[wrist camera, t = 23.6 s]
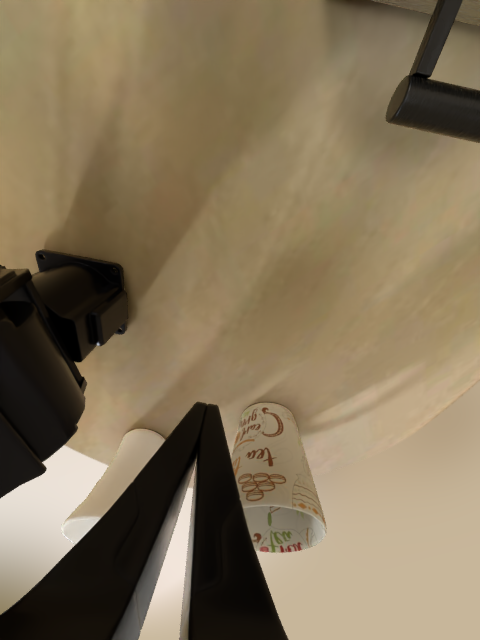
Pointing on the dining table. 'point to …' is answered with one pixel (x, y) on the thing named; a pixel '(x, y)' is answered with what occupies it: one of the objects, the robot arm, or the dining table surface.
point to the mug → (276, 481)
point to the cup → (113, 481)
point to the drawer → (430, 95)
